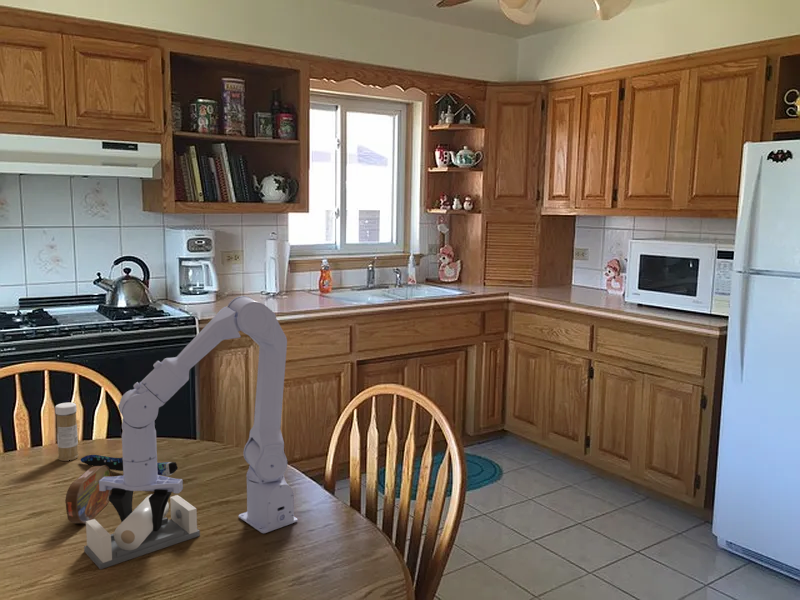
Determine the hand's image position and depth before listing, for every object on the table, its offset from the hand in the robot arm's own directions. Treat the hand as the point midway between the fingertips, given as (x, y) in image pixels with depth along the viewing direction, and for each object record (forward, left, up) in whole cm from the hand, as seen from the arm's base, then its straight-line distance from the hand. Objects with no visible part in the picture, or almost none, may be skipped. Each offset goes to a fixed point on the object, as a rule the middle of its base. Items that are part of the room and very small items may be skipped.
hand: (142, 528), depth 123 cm
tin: (+19, +3, -3) cm, 20 cm away
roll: (0, 0, +1) cm, 1 cm away
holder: (0, 0, -3) cm, 3 cm away
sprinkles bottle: (+53, -3, -3) cm, 53 cm away
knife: (+34, -10, -3) cm, 36 cm away
